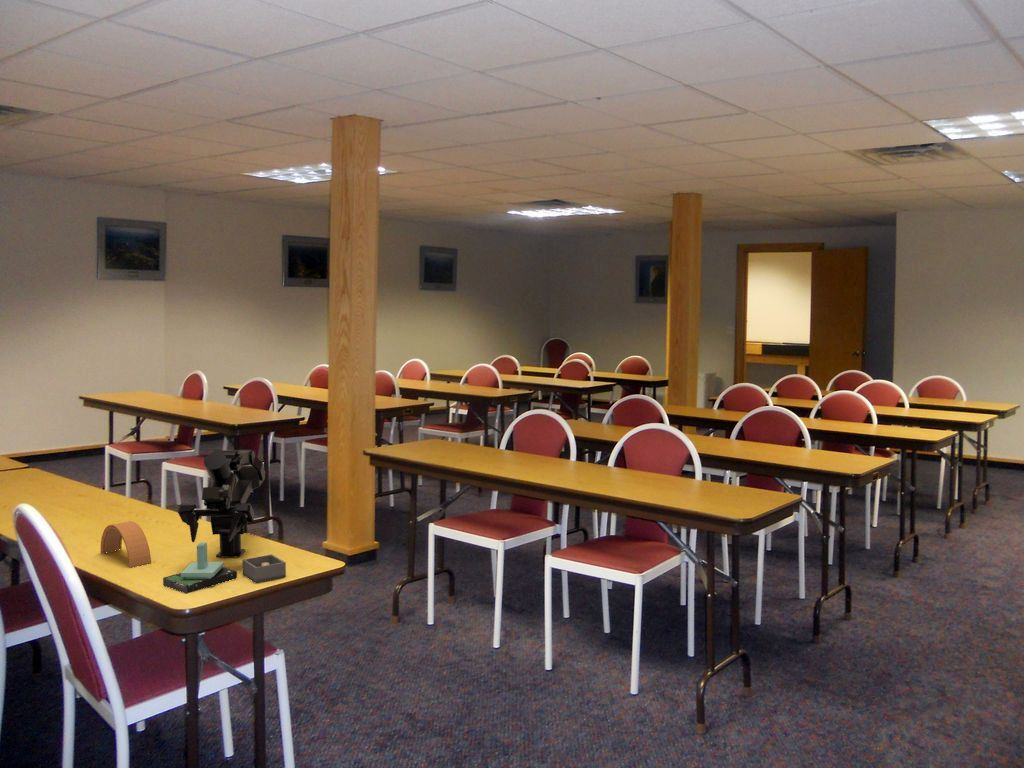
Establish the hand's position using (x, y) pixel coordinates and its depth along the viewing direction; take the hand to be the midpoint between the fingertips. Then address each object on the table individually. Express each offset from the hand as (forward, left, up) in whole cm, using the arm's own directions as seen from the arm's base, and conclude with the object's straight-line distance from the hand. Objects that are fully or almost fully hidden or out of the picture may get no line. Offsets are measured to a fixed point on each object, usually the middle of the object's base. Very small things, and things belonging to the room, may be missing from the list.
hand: (210, 541), depth 227 cm
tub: (+2, +14, -9) cm, 17 cm away
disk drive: (+6, -1, -10) cm, 11 cm away
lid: (+6, 0, -7) cm, 9 cm away
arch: (-15, -28, -9) cm, 33 cm away
